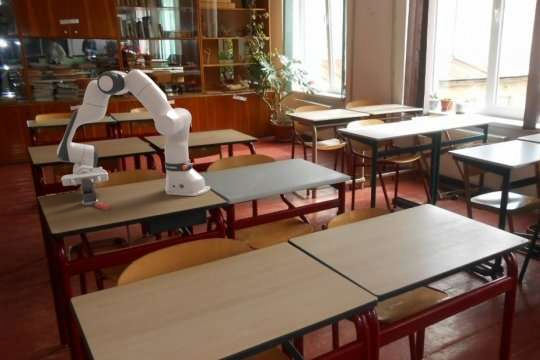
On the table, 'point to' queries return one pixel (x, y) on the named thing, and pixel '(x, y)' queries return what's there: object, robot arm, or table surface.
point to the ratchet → (97, 204)
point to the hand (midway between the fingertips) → (86, 182)
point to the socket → (88, 190)
